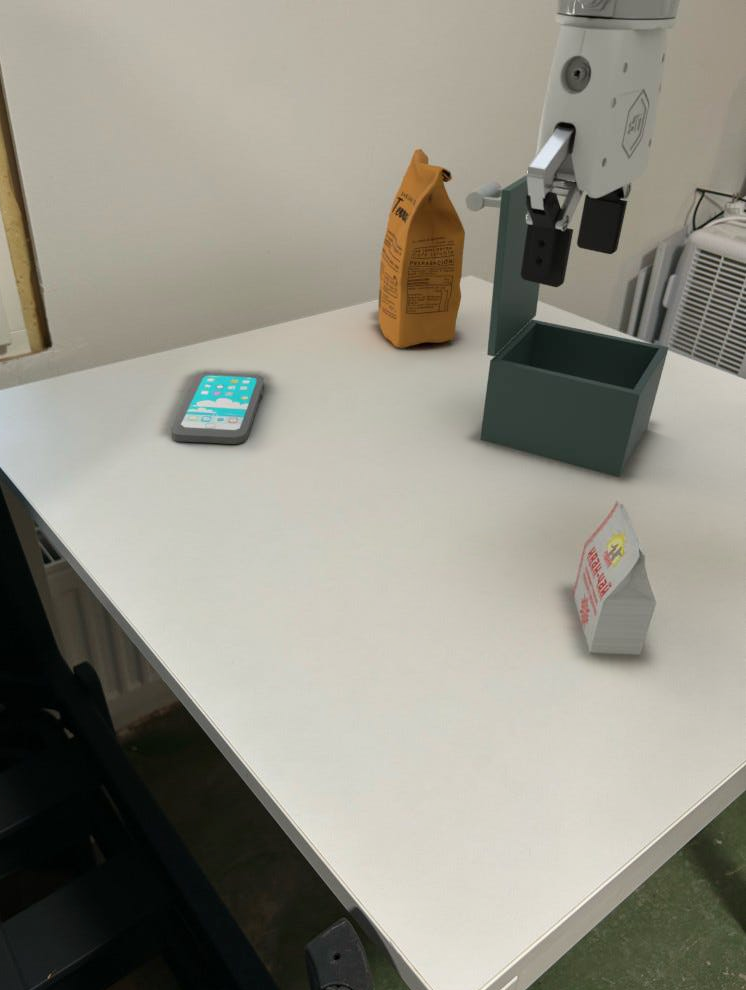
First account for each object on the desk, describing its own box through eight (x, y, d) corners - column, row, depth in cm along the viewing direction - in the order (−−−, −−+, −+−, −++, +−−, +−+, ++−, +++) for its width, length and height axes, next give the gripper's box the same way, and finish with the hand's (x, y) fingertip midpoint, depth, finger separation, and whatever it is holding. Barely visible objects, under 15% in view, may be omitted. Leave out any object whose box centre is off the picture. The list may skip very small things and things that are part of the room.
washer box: (646, 431, 90) (668, 346, 84) (617, 484, 81) (639, 394, 76) (519, 399, 96) (532, 318, 90) (479, 447, 87) (490, 360, 81)
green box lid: (554, 162, 81) (500, 158, 83) (510, 190, 72) (450, 184, 74) (536, 315, 90) (487, 307, 92) (494, 356, 81) (441, 346, 83)
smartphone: (165, 432, 86) (195, 370, 98) (166, 440, 87) (196, 378, 99) (246, 436, 86) (267, 374, 98) (247, 444, 87) (267, 381, 99)
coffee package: (439, 313, 117) (453, 145, 104) (462, 348, 108) (481, 168, 94) (370, 316, 116) (376, 146, 103) (387, 352, 106) (396, 169, 93)
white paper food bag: (616, 603, 67) (645, 501, 61) (637, 663, 62) (670, 557, 56) (571, 602, 67) (595, 499, 61) (587, 661, 62) (615, 555, 56)
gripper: (622, 8, 45) (567, 309, 56) (719, -5, 57) (658, 248, 67) (501, 0, 49) (470, 284, 59) (615, -10, 60) (572, 231, 70)
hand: (570, 265), depth 63 cm, fingers open, 9 cm apart
